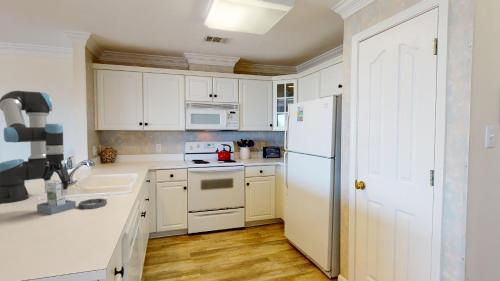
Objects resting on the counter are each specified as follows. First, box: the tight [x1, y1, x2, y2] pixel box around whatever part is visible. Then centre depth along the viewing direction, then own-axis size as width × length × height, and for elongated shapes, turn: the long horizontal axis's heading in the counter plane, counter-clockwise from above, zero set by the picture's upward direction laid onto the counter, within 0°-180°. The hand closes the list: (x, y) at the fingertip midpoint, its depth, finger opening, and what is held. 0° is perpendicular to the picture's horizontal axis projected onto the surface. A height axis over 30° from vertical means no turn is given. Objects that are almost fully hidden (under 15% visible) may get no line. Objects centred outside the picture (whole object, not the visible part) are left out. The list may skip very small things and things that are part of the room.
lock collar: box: [78, 197, 108, 210], centre depth 149 cm, size 13×13×2 cm
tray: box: [36, 198, 77, 216], centre depth 141 cm, size 12×12×4 cm
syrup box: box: [46, 179, 66, 207], centre depth 141 cm, size 6×6×14 cm
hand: (56, 194), depth 141 cm, fingers open, 13 cm apart
